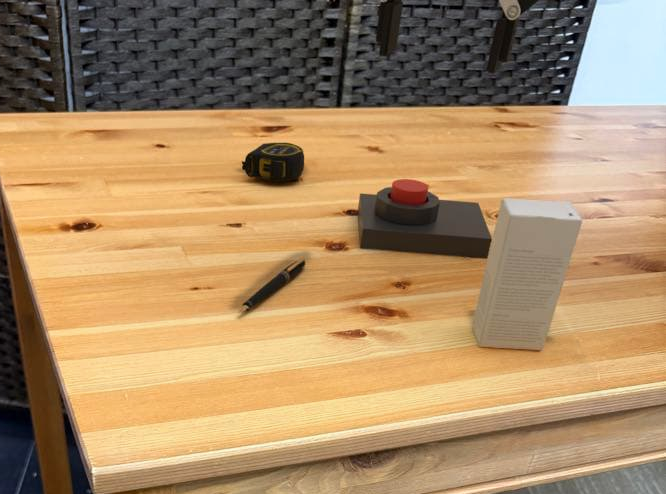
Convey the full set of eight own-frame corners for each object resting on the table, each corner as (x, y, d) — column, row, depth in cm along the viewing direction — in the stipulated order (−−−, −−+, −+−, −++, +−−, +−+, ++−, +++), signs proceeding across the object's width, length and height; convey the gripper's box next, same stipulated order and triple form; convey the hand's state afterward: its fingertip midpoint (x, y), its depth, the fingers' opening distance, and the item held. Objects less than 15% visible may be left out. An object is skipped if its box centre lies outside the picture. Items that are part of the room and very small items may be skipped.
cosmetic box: (532, 330, 77) (572, 201, 69) (542, 352, 74) (585, 219, 66) (469, 325, 77) (501, 195, 69) (476, 347, 74) (510, 214, 66)
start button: (423, 196, 92) (426, 180, 91) (427, 209, 89) (430, 192, 88) (388, 193, 92) (391, 177, 91) (390, 206, 89) (393, 189, 88)
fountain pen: (242, 321, 75) (243, 306, 74) (231, 318, 75) (232, 303, 74) (309, 268, 85) (310, 254, 84) (299, 265, 85) (300, 251, 84)
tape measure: (262, 166, 108) (264, 136, 105) (310, 176, 106) (313, 145, 104) (241, 181, 103) (242, 150, 101) (290, 191, 101) (293, 160, 99)
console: (474, 221, 97) (481, 186, 95) (487, 258, 89) (496, 222, 86) (357, 212, 97) (362, 177, 95) (359, 248, 89) (365, 211, 87)
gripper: (610, -190, 61) (544, 69, 72) (389, -205, 65) (360, 40, 77) (600, -193, 56) (530, 86, 67) (360, -210, 60) (333, 54, 72)
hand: (439, 61), depth 72 cm, fingers open, 9 cm apart
